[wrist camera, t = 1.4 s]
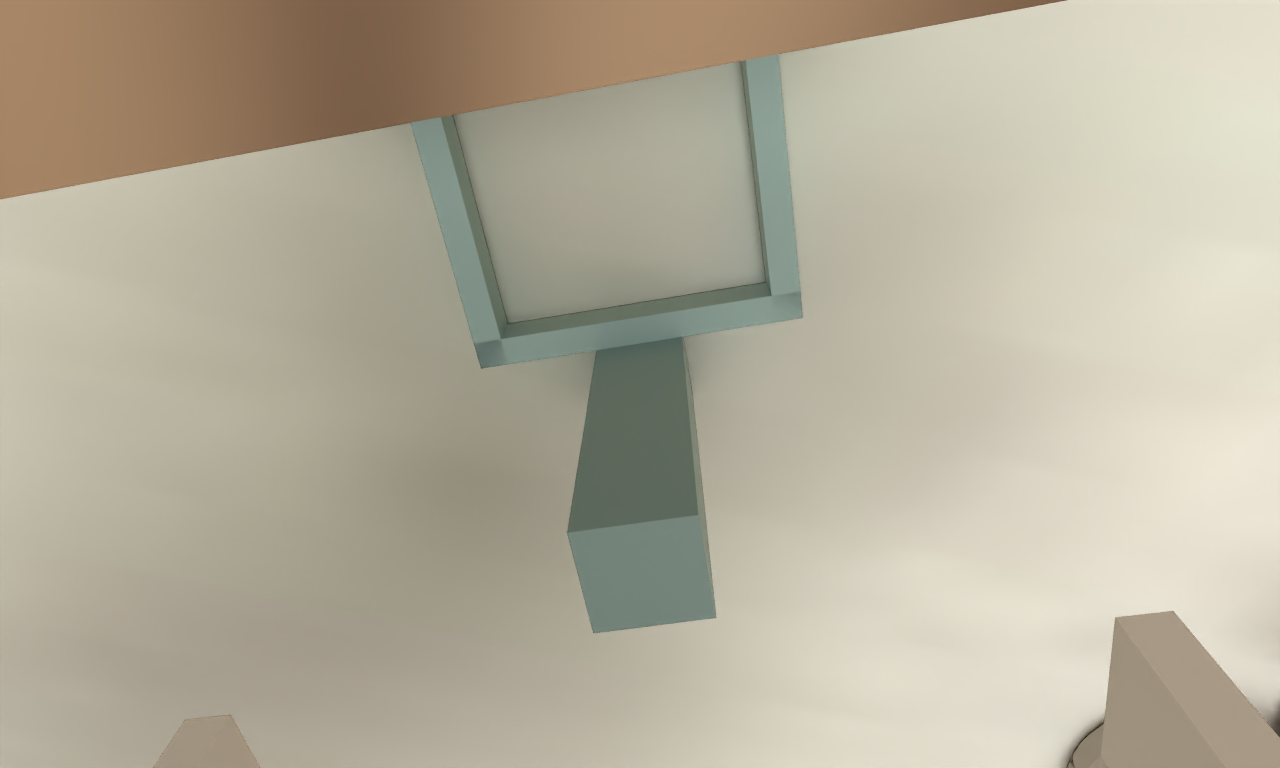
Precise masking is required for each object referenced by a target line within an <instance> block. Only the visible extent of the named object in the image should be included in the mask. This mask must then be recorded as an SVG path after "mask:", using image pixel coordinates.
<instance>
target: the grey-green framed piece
mask: <svg viewBox="0 0 1280 768" xmlns="http://www.w3.org/2000/svg"><path fill="white" fill-rule="evenodd" d="M741 63H742V72H743V81H744V90H745V99H746V108H747V117H748V126H749V135H750V144H751V152H752V161H753V170H754V179H755V188H756V197H757V206H758V215H759V224H760V233H761V242H762V250H763V259H764V268H765V277H766V282H765V283H759V284H753V285H747V286H741V287H734V288H728V289H722V290H716V291H710V292H703V293H697V294H691V295H685V296H679V297H673V298H666V299H660V300H654V301H648V302H642V303H636V304H629V305H623V306H617V307H611V308H605V309H599V310H592V311H586V312H580V313H574V314H568V315H561V316H555V317H549V318H543V319H537V320H531V321H524V322H518V323H512V324H508V323H507V320H506V316H505V312H504V308H503V305H502V301H501V297H500V293H499V289H498V286H497V282H496V278H495V274H494V270H493V267H492V263H491V259H490V255H489V252H488V248H487V244H486V240H485V236H484V233H483V229H482V225H481V221H480V217H479V214H478V210H477V206H476V202H475V199H474V195H473V191H472V187H471V183H470V180H469V176H468V172H467V168H466V164H465V161H464V157H463V153H462V149H461V146H460V142H459V138H458V134H457V130H456V127H455V123H454V119H453V115H449V116H444V117H438V118H433V119H428V120H422V121H417V122H412V123H411V126H412V129H413V133H414V136H415V140H416V143H417V147H418V150H419V154H420V157H421V161H422V164H423V168H424V171H425V175H426V178H427V182H428V185H429V189H430V192H431V196H432V199H433V203H434V206H435V210H436V213H437V216H438V220H439V223H440V227H441V230H442V234H443V237H444V241H445V244H446V248H447V251H448V255H449V258H450V262H451V265H452V269H453V272H454V276H455V279H456V283H457V286H458V290H459V293H460V297H461V300H462V304H463V307H464V311H465V314H466V318H467V321H468V325H469V328H470V332H471V335H472V338H473V342H474V345H475V349H476V352H477V356H478V359H479V363H480V366H481V368H488V367H494V366H500V365H507V364H513V363H519V362H526V361H532V360H538V359H545V358H551V357H557V356H564V355H570V354H576V353H583V352H589V351H596V350H597V351H596V357H595V363H594V369H593V376H592V382H591V388H590V394H589V400H588V407H587V413H586V419H585V425H584V432H583V438H582V444H581V450H580V456H579V463H578V469H577V475H576V481H575V487H574V494H573V500H572V506H571V512H570V519H569V525H568V531H567V534H568V538H569V542H570V546H571V549H572V553H573V557H574V561H575V565H576V569H577V572H578V576H579V580H580V584H581V588H582V592H583V595H584V599H585V603H586V607H587V611H588V614H589V618H590V622H591V626H592V630H593V633H599V632H607V631H615V630H623V629H631V628H639V627H647V626H655V625H663V624H671V623H679V622H687V621H694V620H702V619H710V618H716V611H715V601H714V592H713V582H712V573H711V563H710V554H709V544H708V535H707V525H706V516H705V506H704V497H703V487H702V478H701V468H700V459H699V449H698V440H697V430H696V421H695V411H694V402H693V394H692V387H691V381H690V375H689V369H688V363H687V357H686V351H685V345H684V339H683V337H684V336H691V335H697V334H703V333H710V332H716V331H723V330H729V329H735V328H742V327H748V326H754V325H761V324H767V323H773V322H780V321H786V320H792V319H799V318H803V314H802V303H801V292H800V282H799V271H798V260H797V249H796V239H795V228H794V217H793V207H792V196H791V185H790V175H789V164H788V153H787V142H786V132H785V121H784V110H783V100H782V89H781V78H780V67H779V57H778V54H776V55H771V56H765V57H760V58H755V59H749V60H744V61H741Z"/></svg>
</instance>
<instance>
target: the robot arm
mask: <svg viewBox="0 0 1280 768" xmlns="http://www.w3.org/2000/svg"><path fill="white" fill-rule="evenodd" d="M1101 757H1102V758H1103V760H1104V762H1105V763H1106V765H1107V767H1108V768H1280V738H1279V736H1278V735H1277V734H1276V733H1275V732H1274V731H1273V729H1272V728H1271V727H1270V726H1269V725H1268V723H1267V722H1266V721H1265V720H1264V719H1263V717H1262V716H1261V715H1260V714H1259V713H1258V711H1257V710H1256V709H1255V708H1254V707H1253V705H1252V704H1251V703H1250V702H1249V701H1248V699H1247V698H1246V697H1245V696H1244V695H1243V694H1242V692H1241V691H1240V690H1239V689H1238V688H1237V686H1236V685H1235V684H1234V683H1233V682H1232V680H1231V679H1230V678H1229V677H1228V676H1227V674H1226V673H1225V672H1224V671H1223V670H1222V668H1221V667H1220V666H1219V665H1218V664H1217V663H1216V661H1215V660H1214V659H1213V658H1212V657H1211V655H1210V654H1209V653H1208V652H1207V651H1206V649H1205V648H1204V647H1203V646H1202V645H1201V643H1200V642H1199V641H1198V640H1197V639H1196V637H1195V636H1194V635H1193V634H1192V633H1191V632H1190V630H1189V629H1188V628H1187V627H1186V626H1185V624H1184V623H1183V622H1182V621H1181V620H1180V618H1179V617H1178V616H1177V615H1176V614H1175V612H1174V611H1169V612H1160V613H1151V614H1142V615H1133V616H1124V617H1115V624H1114V633H1113V643H1112V653H1111V662H1110V672H1109V681H1108V691H1107V701H1106V710H1105V720H1104V729H1103V739H1102V748H1101ZM153 768H260V767H259V765H258V763H257V761H256V760H255V758H254V756H253V754H252V752H251V751H250V749H249V747H248V745H247V743H246V741H245V740H244V738H243V736H242V734H241V732H240V730H239V729H238V727H237V725H236V723H235V721H234V719H233V718H232V716H231V715H224V716H215V717H206V718H197V719H188V720H185V721H184V722H183V724H182V725H181V727H180V728H179V730H178V731H177V733H176V734H175V736H174V737H173V739H172V740H171V742H170V743H169V745H168V746H167V748H166V749H165V751H164V752H163V753H162V755H161V756H160V758H159V759H158V761H157V762H156V764H155V765H154V767H153Z"/></svg>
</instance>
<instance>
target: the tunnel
mask: <svg viewBox="0 0 1280 768" xmlns="http://www.w3.org/2000/svg"><path fill="white" fill-rule="evenodd" d="M1060 1H1065V0H0V199H5V198H10V197H15V196H21V195H26V194H31V193H37V192H42V191H47V190H53V189H58V188H64V187H69V186H74V185H80V184H85V183H90V182H96V181H101V180H106V179H112V178H117V177H122V176H128V175H133V174H139V173H144V172H149V171H155V170H160V169H165V168H171V167H176V166H181V165H187V164H192V163H197V162H203V161H208V160H214V159H219V158H224V157H230V156H235V155H240V154H246V153H251V152H256V151H262V150H267V149H272V148H278V147H283V146H289V145H294V144H299V143H305V142H310V141H315V140H321V139H326V138H331V137H337V136H342V135H347V134H353V133H358V132H364V131H369V130H374V129H380V128H385V127H390V126H396V125H401V124H406V123H412V122H417V121H422V120H428V119H433V118H438V117H444V116H449V115H455V114H460V113H465V112H471V111H476V110H481V109H487V108H492V107H497V106H503V105H508V104H513V103H519V102H524V101H530V100H535V99H540V98H546V97H551V96H556V95H562V94H567V93H572V92H578V91H583V90H588V89H594V88H599V87H605V86H610V85H615V84H621V83H626V82H631V81H637V80H642V79H647V78H653V77H658V76H663V75H669V74H674V73H680V72H685V71H690V70H696V69H701V68H706V67H712V66H717V65H722V64H728V63H733V62H738V61H744V60H749V59H755V58H760V57H765V56H771V55H776V54H781V53H787V52H792V51H797V50H803V49H808V48H813V47H819V46H824V45H830V44H835V43H840V42H846V41H851V40H856V39H862V38H867V37H872V36H878V35H883V34H888V33H894V32H899V31H905V30H910V29H915V28H921V27H926V26H931V25H937V24H942V23H947V22H953V21H958V20H963V19H969V18H974V17H980V16H985V15H990V14H996V13H1001V12H1006V11H1012V10H1017V9H1022V8H1028V7H1033V6H1038V5H1044V4H1049V3H1055V2H1060Z"/></svg>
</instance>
